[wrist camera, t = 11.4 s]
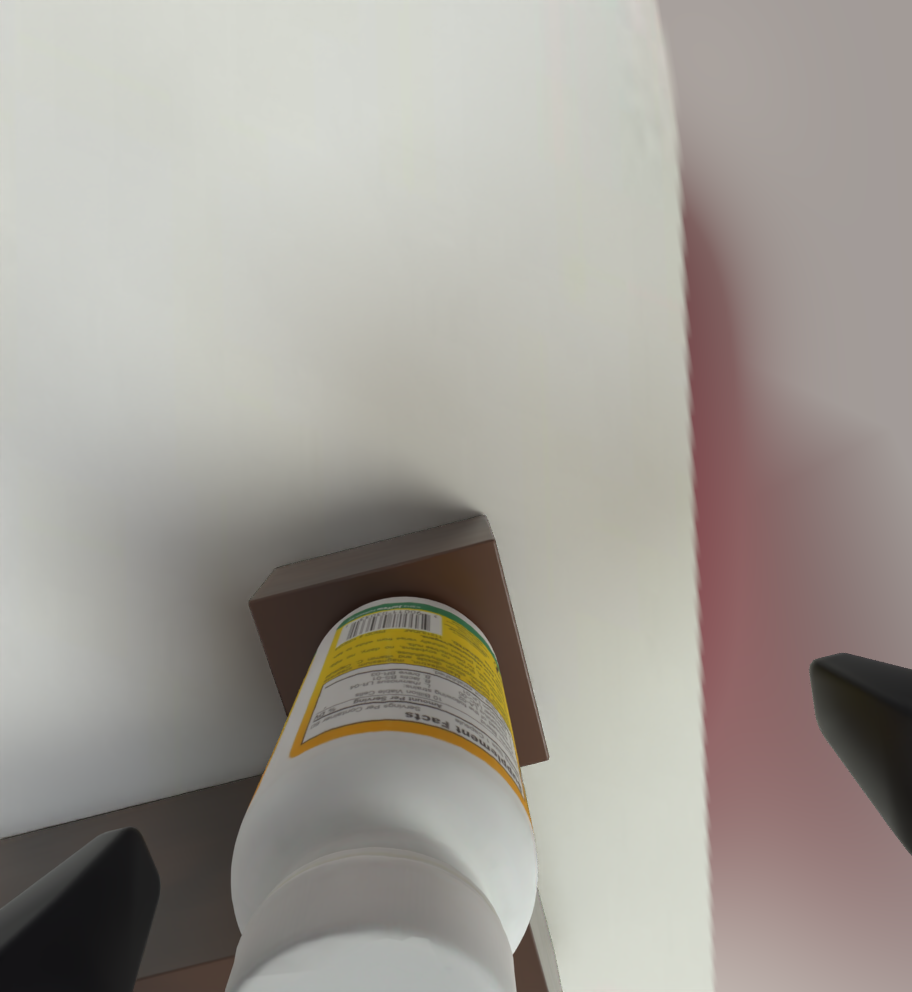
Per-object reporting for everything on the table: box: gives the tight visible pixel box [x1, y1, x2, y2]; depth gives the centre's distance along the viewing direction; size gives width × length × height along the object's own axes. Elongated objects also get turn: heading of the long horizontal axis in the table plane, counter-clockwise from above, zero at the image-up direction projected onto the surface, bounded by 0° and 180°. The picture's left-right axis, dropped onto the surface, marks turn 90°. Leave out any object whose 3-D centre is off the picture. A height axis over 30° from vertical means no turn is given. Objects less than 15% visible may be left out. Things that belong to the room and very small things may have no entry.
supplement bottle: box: [225, 597, 538, 992], centre depth 12 cm, size 5×5×10 cm
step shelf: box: [0, 515, 563, 992], centre depth 18 cm, size 20×17×7 cm
